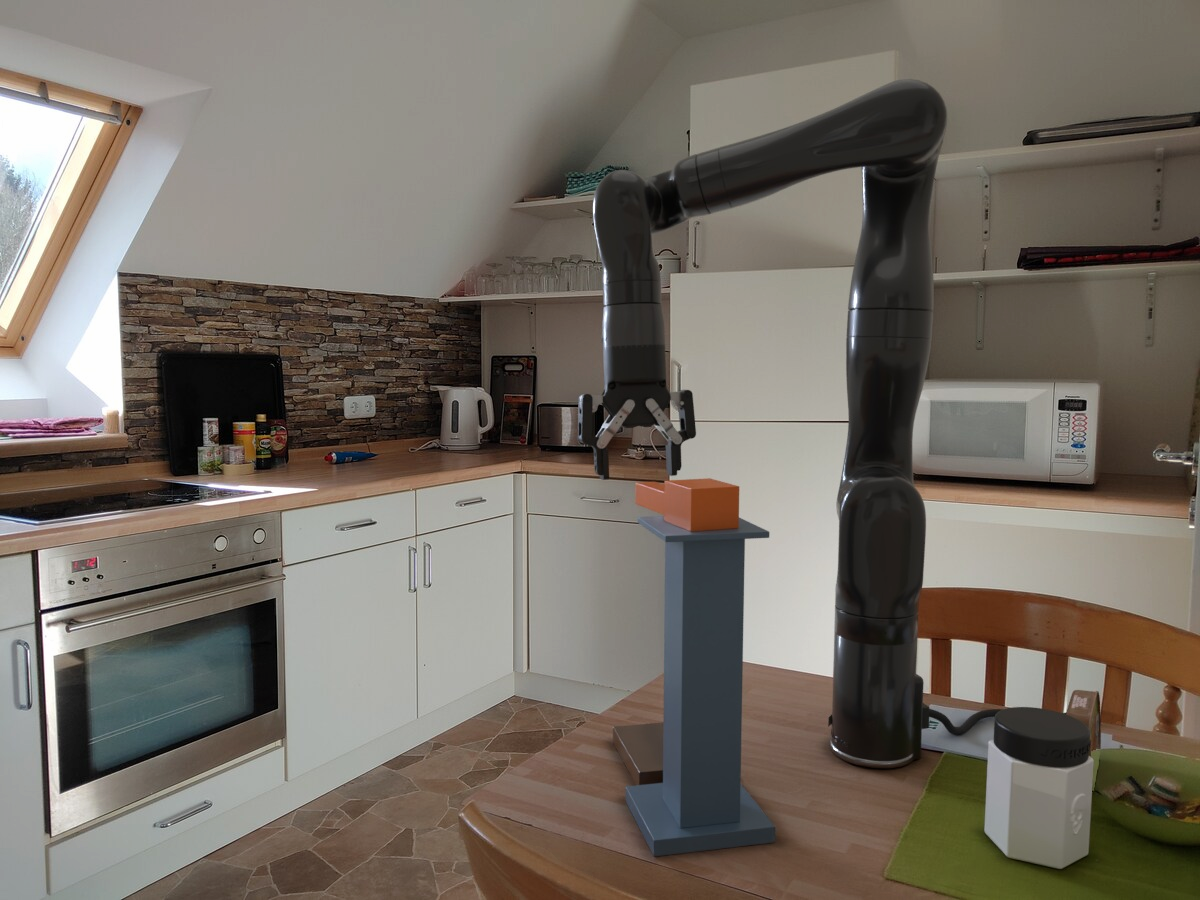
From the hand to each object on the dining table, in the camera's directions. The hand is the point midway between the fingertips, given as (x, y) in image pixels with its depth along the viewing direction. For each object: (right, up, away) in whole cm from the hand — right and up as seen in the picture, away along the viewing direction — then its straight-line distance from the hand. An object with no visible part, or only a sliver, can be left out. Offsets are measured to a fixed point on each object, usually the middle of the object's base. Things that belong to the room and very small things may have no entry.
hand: (638, 477), depth 113 cm
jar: (+37, -34, -25) cm, 56 cm away
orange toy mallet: (+3, -3, -19) cm, 20 cm away
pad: (+3, -32, -7) cm, 33 cm away
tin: (+49, -33, -10) cm, 60 cm away
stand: (+5, -34, -21) cm, 40 cm away
